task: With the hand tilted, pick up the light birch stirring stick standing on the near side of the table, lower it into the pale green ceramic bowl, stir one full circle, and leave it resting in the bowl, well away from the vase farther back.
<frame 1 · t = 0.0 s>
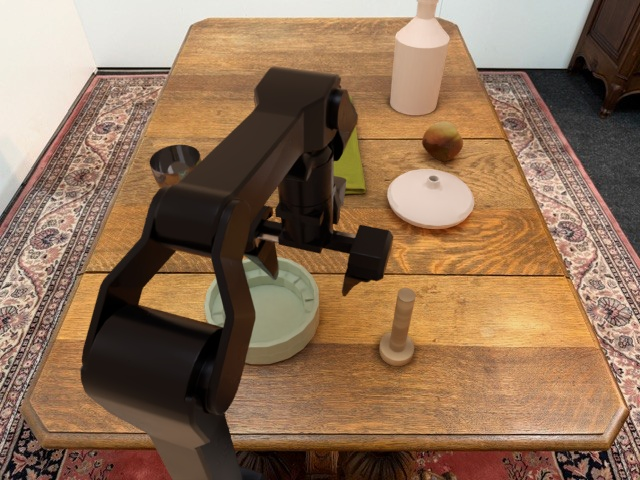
hand: (309, 285, 60), 13 cm above the table, tool pointing down, fingers open, 9 cm apart
fruit: (439, 158, 100), on the table
wine glass: (194, 227, 86), on the table
bowl: (265, 317, 71), on the table
bottle: (413, 104, 116), on the table
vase: (427, 209, 89), on the table
dish towel: (323, 144, 104), on the table
stirring stick: (395, 351, 67), on the table
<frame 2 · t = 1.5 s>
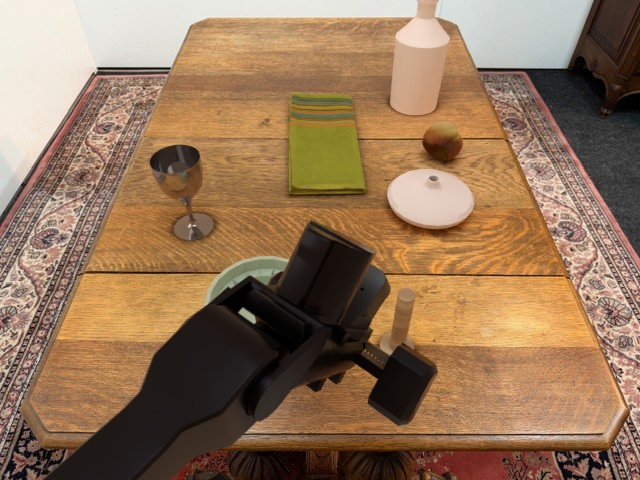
hand: (369, 335, 53), 13 cm above the table, tool tilted 45°, fingers open, 9 cm apart
nothing on the table moved.
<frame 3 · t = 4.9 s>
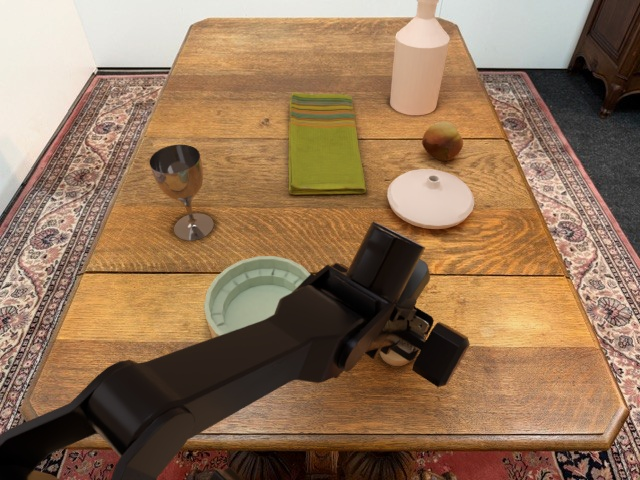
hand: (406, 317, 63), 7 cm above the table, tool tilted 45°, fingers closed on stirring stick, 2 cm apart
stirring stick: (395, 351, 67), on the table, touching gripper
everything else where it was.
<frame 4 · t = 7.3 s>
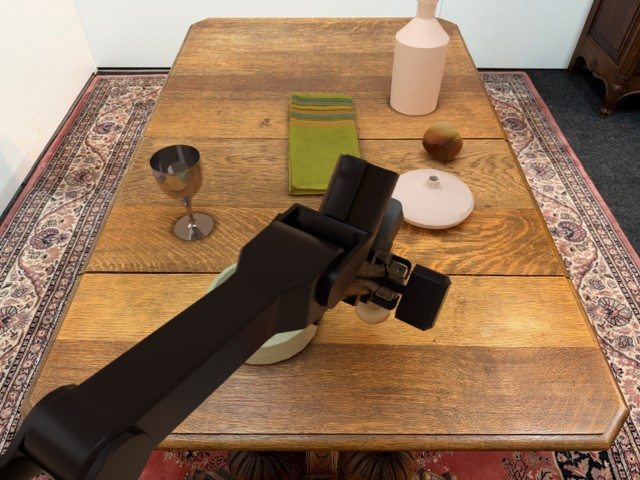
hand: (381, 271, 60), 13 cm above the table, tool tilted 45°, fingers closed on stirring stick, 2 cm apart
stirring stick: (372, 309, 64), point 7 cm above the table, touching gripper
everything else where it was.
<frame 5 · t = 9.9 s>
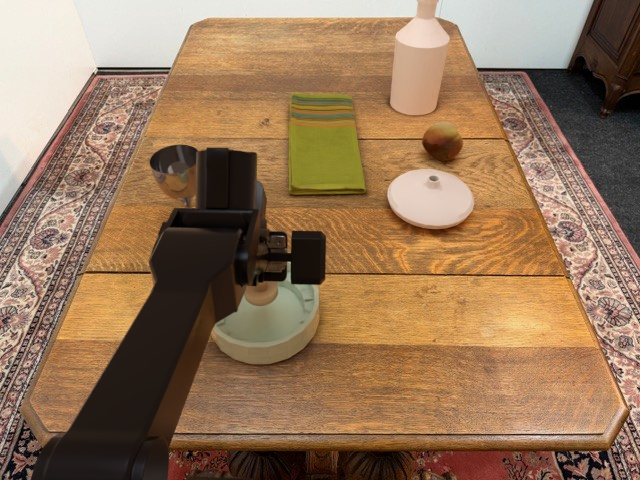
hand: (257, 254, 63), 13 cm above the table, tool tilted 45°, fingers closed on stirring stick, 2 cm apart
stirring stick: (261, 292, 67), point 6 cm above the table, touching gripper
everything else where it was.
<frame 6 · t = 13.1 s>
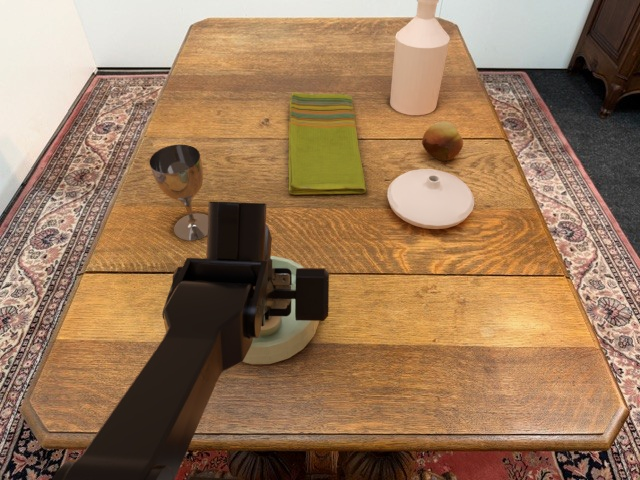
hand: (262, 286, 66), 8 cm above the table, tool tilted 45°, fingers closed on stirring stick, 2 cm apart
stirring stick: (265, 321, 69), point 1 cm above the table, touching gripper
everything else where it was.
when the fingers open (7 cm above the table, at t = 15.1 s): stirring stick stays where it is, resting on bowl.
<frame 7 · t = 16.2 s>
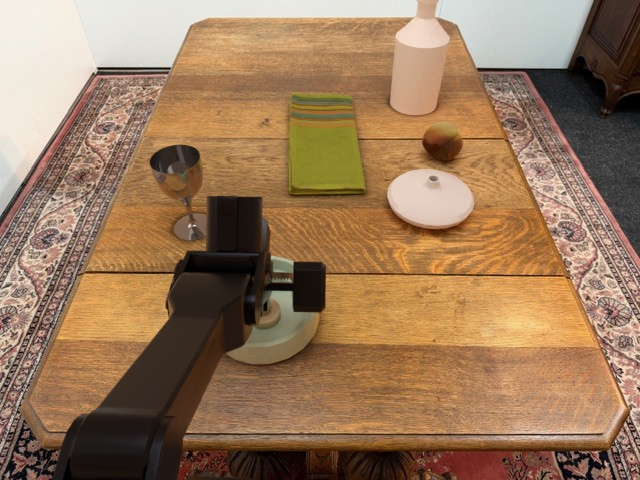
hand: (261, 279, 67), 7 cm above the table, tool tilted 45°, fingers open, 9 cm apart
stirring stick: (265, 315, 71), point 1 cm above the table, touching bowl
everything else where it was.
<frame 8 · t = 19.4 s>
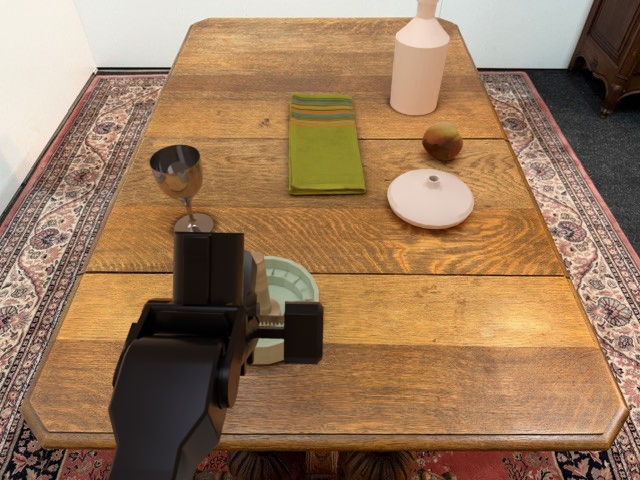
hand: (248, 317, 58), 12 cm above the table, tool tilted 45°, fingers open, 9 cm apart
nothing on the table moved.
at the end: stirring stick inside the target area in the bowl (0.1 cm from its centre), point 0.6 cm above the bowl's base; the gripper is holding nothing; stirring stick touching bowl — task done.
